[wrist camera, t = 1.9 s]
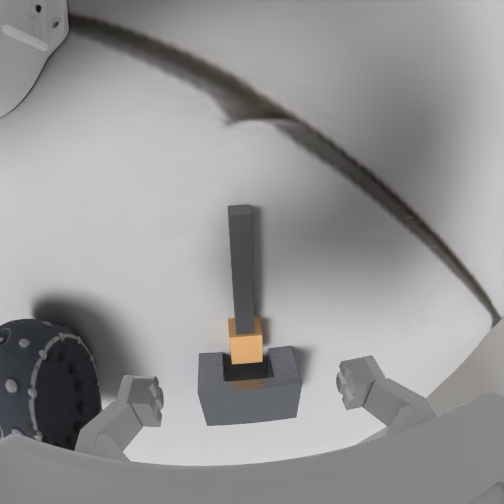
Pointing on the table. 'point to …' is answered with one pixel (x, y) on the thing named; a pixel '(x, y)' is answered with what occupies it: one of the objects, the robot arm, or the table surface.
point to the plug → (243, 289)
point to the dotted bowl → (46, 383)
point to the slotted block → (249, 391)
